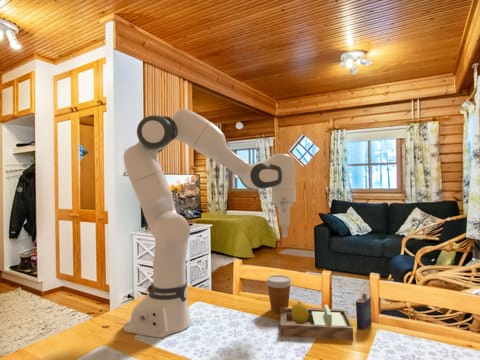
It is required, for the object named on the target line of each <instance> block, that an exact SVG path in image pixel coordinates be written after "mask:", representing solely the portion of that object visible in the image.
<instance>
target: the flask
mask: <svg viewBox="0 0 480 360" xmlns="http://www.w3.org/2000/svg"><path fill="white" fill-rule="evenodd" d="M361 294H362V295H361V297H359V298H357V299H356V300H355V305H356V306H355V312H356V313H355V314H356V316H355V317H356V329H357V328H358V329H357V330H359V329H361V330H360V331H365V330H367V328H369V326H370V325H371V324H372V302H371V301H372V296H371V295H370V294H369V293H364V292H361ZM364 329H365V330H364Z"/></svg>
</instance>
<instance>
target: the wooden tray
mask: <svg viewBox="0 0 480 360" xmlns="http://www.w3.org/2000/svg"><path fill="white" fill-rule="evenodd" d="M307 309H308V320H307V321H306V323H304V324H297V323H295V322H294V320H293V318H292V307H288V308H287V307H281V314H280V322H279V323H280V325H279V326H280V337H289V338H308V339H326V340H345V341H347V340H349V341H351V340H352V341H353V340H354V327H353V325H352V323H351V321H350V319H349V317H348V314H347V312H346V310H345V309H336V308H335V309H334V308H329V309H330V312H340V313H341V316H342V318H343V320H344V322H345V325H346V326H336V325H314V321H313V316H312V311H314V312H324V308H314V307H313V308H311V307H310V308H309V307H307Z"/></svg>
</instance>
